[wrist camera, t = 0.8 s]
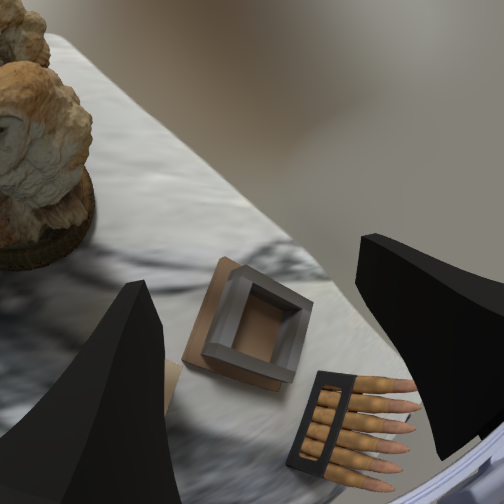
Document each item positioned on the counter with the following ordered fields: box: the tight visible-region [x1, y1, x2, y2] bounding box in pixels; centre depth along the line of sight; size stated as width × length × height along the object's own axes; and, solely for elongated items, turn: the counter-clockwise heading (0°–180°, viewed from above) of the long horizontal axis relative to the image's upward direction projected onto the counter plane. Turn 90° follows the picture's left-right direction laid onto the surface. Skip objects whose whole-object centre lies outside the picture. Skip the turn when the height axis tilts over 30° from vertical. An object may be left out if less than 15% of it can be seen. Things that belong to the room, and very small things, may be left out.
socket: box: [181, 256, 314, 392], centre depth 23 cm, size 9×9×4 cm
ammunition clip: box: [286, 370, 421, 492], centre depth 20 cm, size 11×2×12 cm, turn 157°
